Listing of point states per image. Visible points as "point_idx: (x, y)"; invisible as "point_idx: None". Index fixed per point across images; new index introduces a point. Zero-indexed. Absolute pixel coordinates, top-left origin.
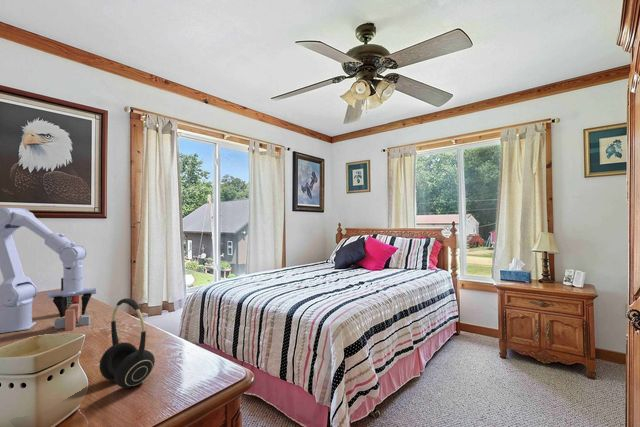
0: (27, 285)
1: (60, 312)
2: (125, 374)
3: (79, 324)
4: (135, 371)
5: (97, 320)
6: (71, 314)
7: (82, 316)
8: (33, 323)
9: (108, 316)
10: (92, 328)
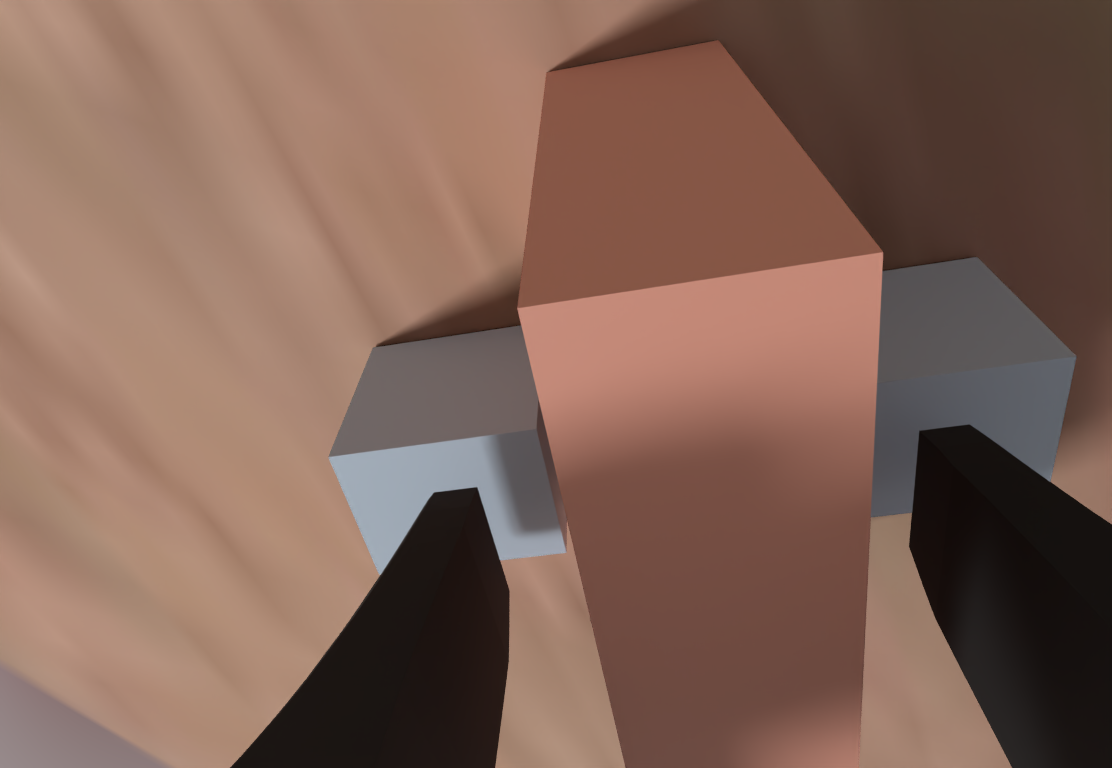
0: None
1: (1049, 507)
2: None
3: None
4: None
5: (345, 543)
6: (599, 210)
7: (496, 505)
8: None
9: (277, 678)
10: (105, 18)
